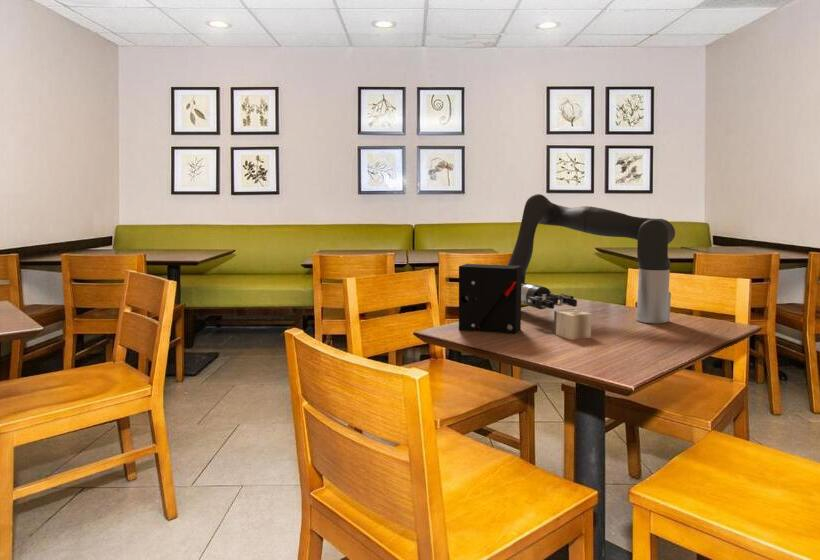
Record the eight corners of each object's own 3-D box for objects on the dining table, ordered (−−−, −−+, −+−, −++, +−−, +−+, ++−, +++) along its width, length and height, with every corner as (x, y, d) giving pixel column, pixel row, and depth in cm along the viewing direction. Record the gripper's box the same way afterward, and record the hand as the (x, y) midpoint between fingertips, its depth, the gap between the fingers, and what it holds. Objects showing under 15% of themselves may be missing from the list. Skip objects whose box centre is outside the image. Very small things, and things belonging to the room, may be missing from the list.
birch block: (573, 309, 167) (591, 313, 159) (573, 331, 168) (590, 337, 160) (554, 310, 164) (571, 315, 157) (553, 333, 165) (570, 339, 158)
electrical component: (522, 328, 172) (523, 265, 170) (514, 335, 163) (515, 268, 160) (468, 324, 180) (468, 263, 177) (458, 330, 170) (458, 266, 168)
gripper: (517, 286, 184) (545, 294, 169) (552, 283, 189) (583, 291, 174) (516, 308, 185) (545, 318, 170) (552, 305, 190) (582, 314, 175)
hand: (564, 304), depth 172 cm, fingers open, 8 cm apart
